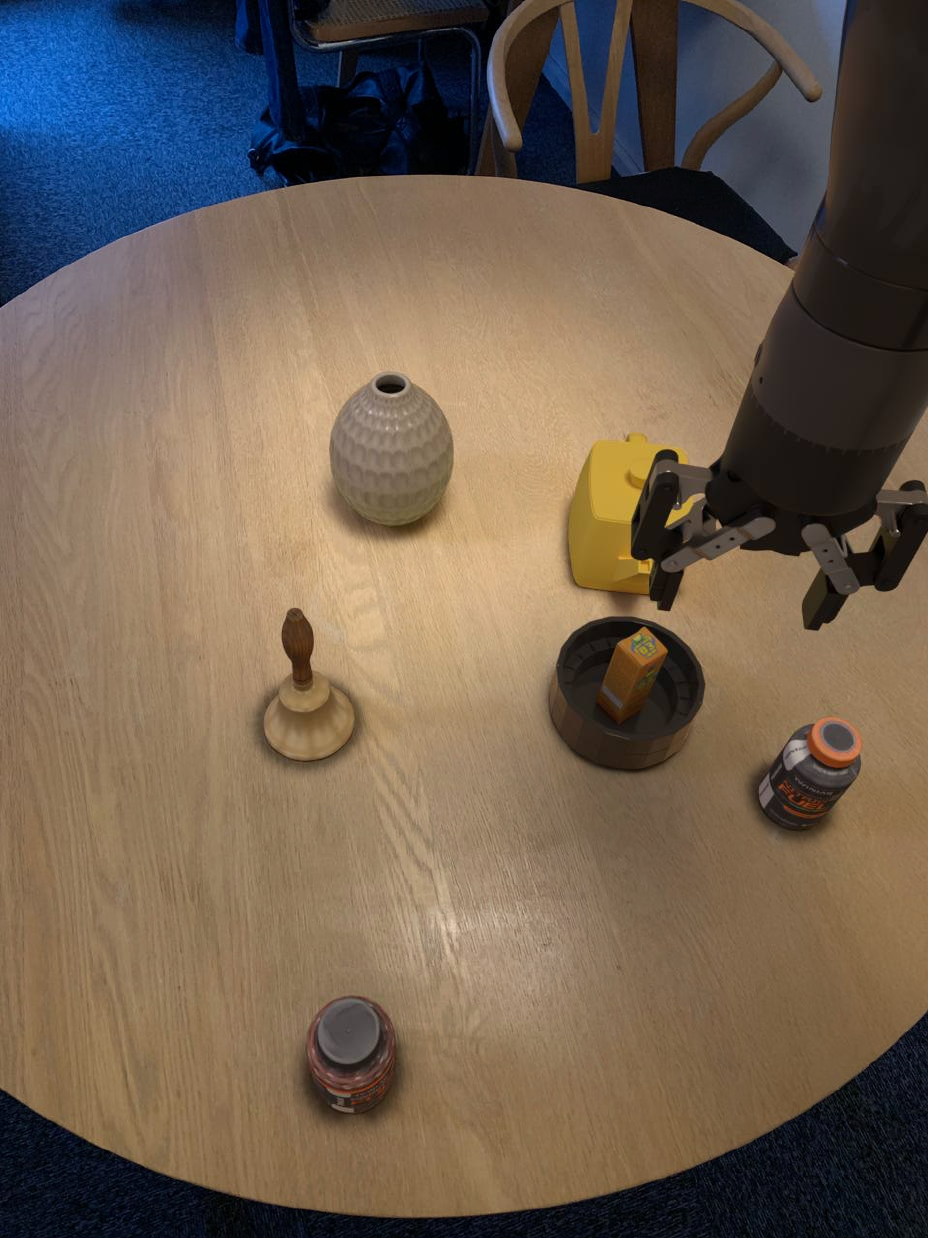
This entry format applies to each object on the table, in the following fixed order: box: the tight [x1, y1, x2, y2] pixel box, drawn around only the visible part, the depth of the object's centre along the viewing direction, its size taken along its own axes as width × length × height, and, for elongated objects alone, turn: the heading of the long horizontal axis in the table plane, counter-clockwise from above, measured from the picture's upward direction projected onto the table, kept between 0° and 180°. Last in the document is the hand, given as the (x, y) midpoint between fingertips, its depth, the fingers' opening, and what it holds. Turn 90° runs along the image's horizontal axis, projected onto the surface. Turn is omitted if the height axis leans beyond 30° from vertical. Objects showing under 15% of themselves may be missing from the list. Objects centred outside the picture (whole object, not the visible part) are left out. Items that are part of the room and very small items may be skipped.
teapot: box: [568, 432, 694, 595], centre depth 95 cm, size 20×12×12 cm, turn 175°
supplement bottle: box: [305, 994, 398, 1115], centre depth 64 cm, size 6×6×11 cm
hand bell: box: [262, 607, 356, 762], centre depth 79 cm, size 8×8×16 cm
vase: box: [328, 371, 455, 527], centre depth 96 cm, size 13×13×17 cm
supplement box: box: [597, 627, 668, 724], centre depth 83 cm, size 3×3×10 cm
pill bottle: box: [758, 716, 863, 831], centre depth 79 cm, size 6×6×11 cm
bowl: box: [548, 615, 706, 769], centre depth 85 cm, size 13×13×6 cm
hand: (735, 609), depth 55 cm, fingers open, 8 cm apart
